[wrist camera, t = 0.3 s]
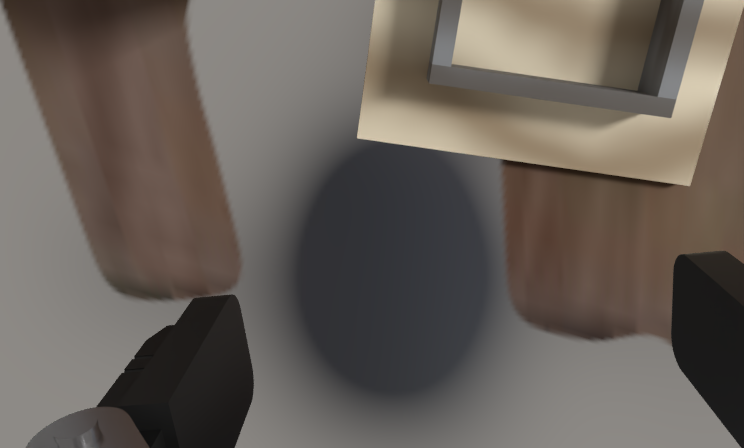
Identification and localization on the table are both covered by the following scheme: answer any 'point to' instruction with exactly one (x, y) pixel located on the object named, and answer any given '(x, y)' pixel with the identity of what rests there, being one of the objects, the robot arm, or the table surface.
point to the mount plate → (551, 80)
